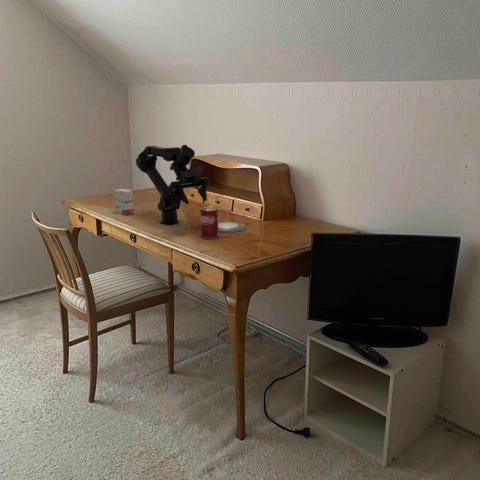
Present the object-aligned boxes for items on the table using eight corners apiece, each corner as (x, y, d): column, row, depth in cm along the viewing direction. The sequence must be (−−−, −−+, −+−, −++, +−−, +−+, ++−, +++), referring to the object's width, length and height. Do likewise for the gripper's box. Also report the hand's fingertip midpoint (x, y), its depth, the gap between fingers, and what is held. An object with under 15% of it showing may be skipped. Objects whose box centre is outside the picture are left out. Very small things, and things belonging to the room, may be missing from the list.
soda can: (209, 233, 210) (208, 205, 207) (222, 236, 206) (221, 208, 203) (197, 237, 205) (196, 208, 202) (210, 240, 201) (209, 211, 197)
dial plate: (209, 223, 227) (209, 221, 227) (244, 223, 228) (244, 220, 227) (208, 232, 212) (208, 230, 211) (246, 232, 212) (246, 230, 212)
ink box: (134, 214, 244) (133, 190, 241) (127, 215, 240) (125, 191, 237) (123, 211, 249) (121, 188, 246) (115, 213, 245) (113, 189, 242)
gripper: (170, 162, 201) (186, 193, 196) (207, 158, 212) (223, 188, 208) (160, 178, 209) (175, 209, 204) (197, 174, 220) (212, 203, 216)
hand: (197, 202), depth 208 cm, fingers open, 9 cm apart
